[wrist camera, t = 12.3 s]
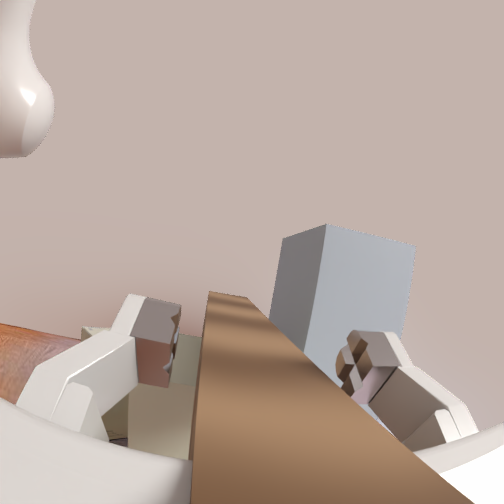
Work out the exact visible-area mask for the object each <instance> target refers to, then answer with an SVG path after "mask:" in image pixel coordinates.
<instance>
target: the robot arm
mask: <svg viewBox="0 0 504 504" xmlns="http://www.w3.org/2000/svg"><path fill="white" fill-rule="evenodd" d="M35 2H36V0H0V158H17V157H26V156H28V155H29V154H31V153H32V152H33V151H34V150H35V149H36V148H37V147H38V146H39V145H40V144H41V142H42V141H43V140H44V138H45V137H46V135H47V133H48V131H49V129H50V127H51V124H52V120H53V116H54V97H53V93H52V90H51V88H50V86H49V84H48V83H47V82H46V81H45V80H44V78H43V77H42V76H41V74H40V72H39V71H38V69H37V67H36V65H35V62H34V59H33V56H32V52H31V48H30V39H29V29H30V21H31V16H32V12H33V9H34V5H35ZM180 316H181V305H180V304H175V303H171V302H166V301H162V300H157V299H153V298H149V297H147V298H146V297H143V296H139V295H135V294H131V293H130V294H129V295H127V297H126V299H125V300H124V302H123V304H122V306H121V308H120V310H119V312H118V314H117V316H116V318H115V320H114V322H113V324H112V326H111V328H110V330H109V331H107V330H103V331H101V332H99V333H97V334H95V335H94V336H92V337H90V338H88V339H86V340H84V341H82V342H80V343H79V344H77V345H75V346H73V347H71V348H69V349H67V350H66V351H64V352H62V353H60V354H58V355H56V356H54V357H52V358H51V359H49V360H47V361H45V362H43V363H41V364H39V365H38V366H36V367H35V369H34V371H33V373H32V374H31V376H30V378H29V380H28V382H27V384H26V385H25V387H24V389H23V391H22V393H21V395H20V397H19V399H18V401H17V403H16V405H14V404H12V403H10V402H8V401H6V400H4V399H3V398H1V397H0V504H190V492H191V478H192V464H193V461H192V460H185V459H179V458H173V457H168V456H163V455H158V454H153V453H148V452H144V451H140V450H135V449H131V448H127V447H124V446H120V445H116V444H113V443H109V437H108V435H107V432H106V430H105V427H104V424H103V421H102V419H101V416H102V415H104V414H105V413H106V412H107V411H108V410H109V409H111V408H112V407H113V406H114V405H115V404H116V403H117V402H119V401H120V400H121V399H122V398H123V397H124V396H126V395H127V394H128V393H129V392H130V391H131V390H132V389H134V388H135V387H136V386H137V385H138V383H142V384H147V385H152V386H157V387H163V388H168V387H169V382H170V378H171V373H172V364H173V359H175V354H176V349H177V343H178V336H179V327H178V325H179V320H180ZM347 343H348V344H347V345H346V346H344V347H343V348H342V349H340V351H339V353H338V355H337V358H336V364H335V367H336V374H337V377H338V378H339V379H340V380H341V381H342V382H343V384H342V386H341V389H342V390H343V391H344V392H345V393H346V394H347V395H349V396H350V397H351V398H352V399H353V400H354V401H355V402H356V403H357V404H369V405H368V406H369V407H370V408H371V409H372V411H373V412H374V413H375V414H376V415H377V416H378V417H379V419H380V420H381V421H382V422H383V423H384V424H385V425H386V427H387V428H388V429H389V430H390V431H391V432H392V433H393V434H394V436H395V437H396V438H397V439H398V440H399V441H400V442H401V443H402V444H403V445H405V446H406V447H407V448H408V449H409V450H410V451H412V452H413V453H414V454H415V455H416V456H417V457H419V458H420V459H421V460H422V461H423V462H425V463H426V464H427V465H428V466H429V467H431V468H432V469H433V470H434V471H435V472H437V473H438V474H439V475H440V476H441V477H443V478H444V479H445V480H446V481H448V482H449V483H450V484H451V485H452V486H454V487H455V488H456V489H457V490H459V491H460V492H461V493H462V494H464V495H465V496H466V497H468V498H469V499H470V500H471V501H473V502H474V503H475V504H504V422H502V423H500V424H498V425H495V426H493V427H490V428H488V429H486V430H483V431H480V432H479V431H478V429H477V427H476V425H475V423H474V421H473V419H472V417H471V415H470V413H469V411H468V409H467V407H466V405H465V404H464V403H463V402H462V401H461V400H459V399H458V398H457V397H456V396H454V395H453V394H452V393H450V392H449V391H448V390H447V389H445V388H444V387H443V386H441V385H440V384H439V383H438V382H436V381H435V380H434V379H433V378H431V377H430V376H429V375H428V374H426V373H425V372H424V371H422V370H421V369H420V368H419V367H414V366H413V364H412V362H411V360H410V358H409V356H408V355H407V353H406V351H405V349H404V347H403V345H402V344H401V342H400V340H399V338H398V336H397V334H395V333H394V332H384V331H380V332H377V331H364V330H352V331H351V332H350V333H349V335H348V337H347Z"/></svg>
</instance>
